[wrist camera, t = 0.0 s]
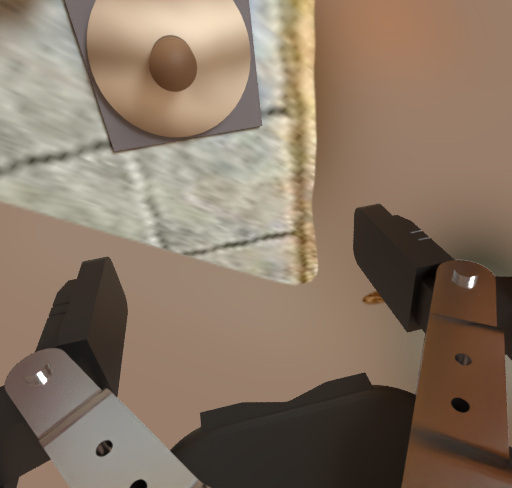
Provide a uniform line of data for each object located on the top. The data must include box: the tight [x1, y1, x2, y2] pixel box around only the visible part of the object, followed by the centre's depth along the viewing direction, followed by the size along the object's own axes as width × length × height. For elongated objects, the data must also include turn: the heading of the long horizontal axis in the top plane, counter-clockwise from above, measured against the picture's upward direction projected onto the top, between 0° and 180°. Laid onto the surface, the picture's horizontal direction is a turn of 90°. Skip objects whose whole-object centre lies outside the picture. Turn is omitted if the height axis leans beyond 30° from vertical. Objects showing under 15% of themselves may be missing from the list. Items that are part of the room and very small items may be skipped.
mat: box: [65, 0, 262, 152], centre depth 35 cm, size 15×15×1 cm
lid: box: [87, 0, 251, 137], centre depth 32 cm, size 14×14×6 cm
